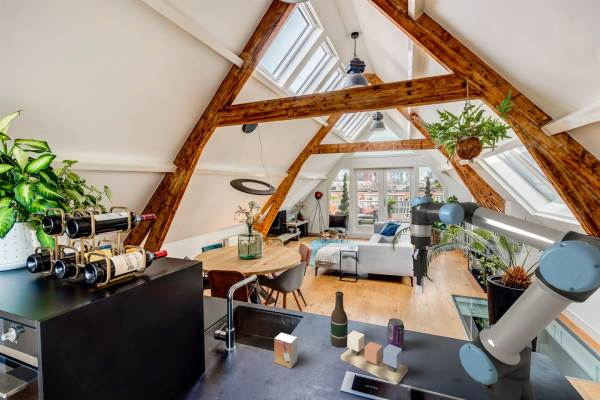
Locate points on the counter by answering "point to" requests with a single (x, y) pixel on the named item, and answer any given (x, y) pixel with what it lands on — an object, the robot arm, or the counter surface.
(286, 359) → the small box
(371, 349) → the salmon orange cube
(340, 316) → the beer bottle
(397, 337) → the beverage can
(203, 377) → the counter surface
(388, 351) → the light blue cube
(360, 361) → the board
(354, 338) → the cream cube
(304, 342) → the counter surface
